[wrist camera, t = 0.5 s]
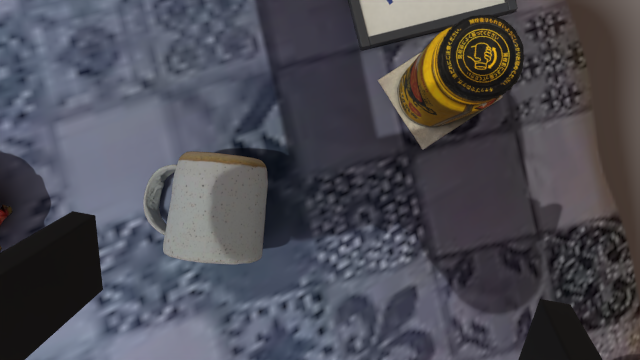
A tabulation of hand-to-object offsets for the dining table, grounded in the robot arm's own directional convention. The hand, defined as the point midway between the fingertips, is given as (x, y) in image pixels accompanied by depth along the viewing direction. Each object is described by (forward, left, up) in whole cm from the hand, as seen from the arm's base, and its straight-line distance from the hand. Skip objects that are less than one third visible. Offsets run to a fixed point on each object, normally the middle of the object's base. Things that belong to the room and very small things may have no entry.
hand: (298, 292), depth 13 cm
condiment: (-8, +14, -25) cm, 30 cm away
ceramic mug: (-3, -8, -25) cm, 27 cm away
